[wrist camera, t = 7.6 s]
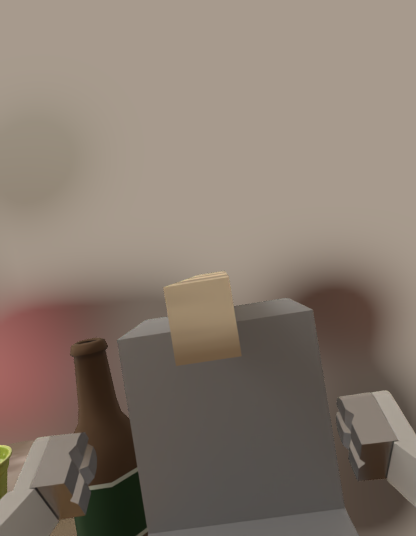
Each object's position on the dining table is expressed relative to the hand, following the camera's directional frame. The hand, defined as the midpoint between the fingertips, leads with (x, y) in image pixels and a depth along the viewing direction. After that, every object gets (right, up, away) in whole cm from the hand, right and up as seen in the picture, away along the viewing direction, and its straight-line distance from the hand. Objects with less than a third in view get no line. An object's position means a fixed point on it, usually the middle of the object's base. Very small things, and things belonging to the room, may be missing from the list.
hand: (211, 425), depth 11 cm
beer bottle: (-9, -26, +25) cm, 38 cm away
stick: (0, +2, +11) cm, 11 cm away
